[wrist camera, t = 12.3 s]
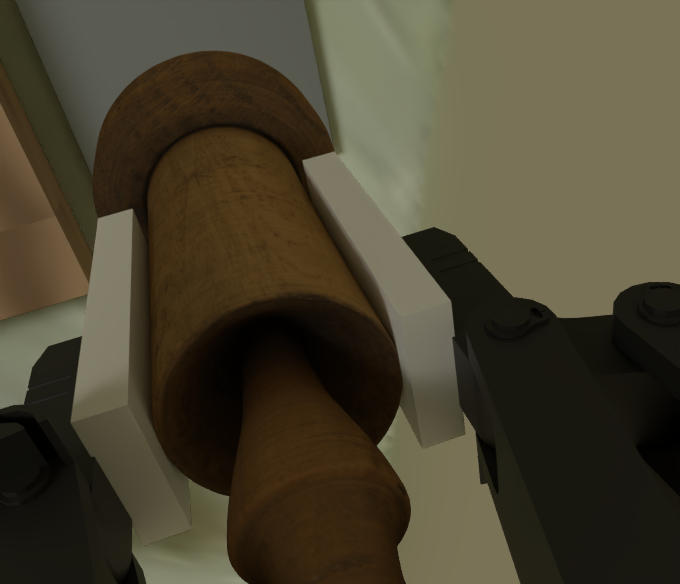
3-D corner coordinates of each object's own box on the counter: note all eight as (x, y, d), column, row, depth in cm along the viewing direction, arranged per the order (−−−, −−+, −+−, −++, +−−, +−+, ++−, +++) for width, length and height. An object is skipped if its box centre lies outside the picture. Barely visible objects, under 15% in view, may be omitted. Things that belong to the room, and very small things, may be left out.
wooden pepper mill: (181, -6, 16) (611, 852, 2) (362, 136, 20) (1058, 847, 5) (52, 195, 18) (-332, 1527, 3) (239, 295, 21) (473, 1181, 7)
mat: (110, 212, 38) (109, 216, 37) (-25, -95, 29) (-27, -95, 29) (332, 149, 40) (334, 152, 39) (269, -160, 31) (271, -161, 30)
